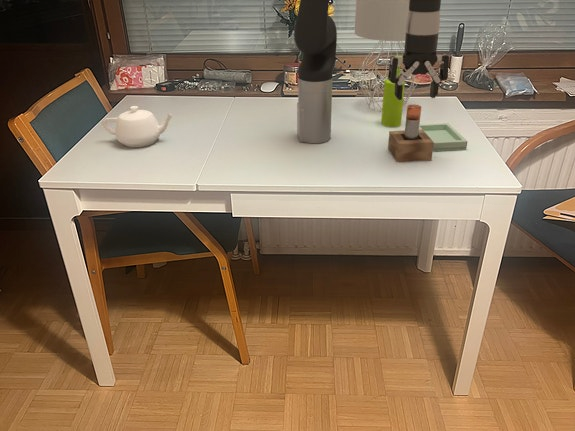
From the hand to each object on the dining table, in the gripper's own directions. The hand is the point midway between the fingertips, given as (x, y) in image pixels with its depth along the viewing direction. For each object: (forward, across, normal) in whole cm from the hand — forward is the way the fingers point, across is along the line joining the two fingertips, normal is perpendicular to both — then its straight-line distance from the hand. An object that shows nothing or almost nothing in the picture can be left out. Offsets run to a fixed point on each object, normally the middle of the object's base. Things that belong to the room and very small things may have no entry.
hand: (415, 98), depth 133 cm
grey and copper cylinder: (+15, 0, 0) cm, 15 cm away
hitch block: (+15, 0, 0) cm, 15 cm away
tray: (+15, +11, +8) cm, 20 cm away
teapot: (+14, -72, +19) cm, 76 cm away
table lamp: (+15, +4, +39) cm, 42 cm away
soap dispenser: (+15, +2, +23) cm, 28 cm away
